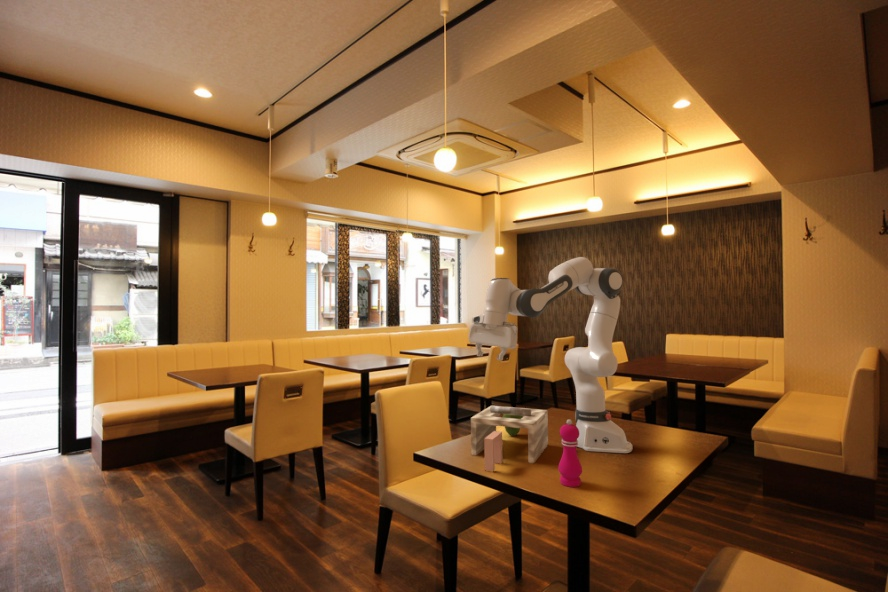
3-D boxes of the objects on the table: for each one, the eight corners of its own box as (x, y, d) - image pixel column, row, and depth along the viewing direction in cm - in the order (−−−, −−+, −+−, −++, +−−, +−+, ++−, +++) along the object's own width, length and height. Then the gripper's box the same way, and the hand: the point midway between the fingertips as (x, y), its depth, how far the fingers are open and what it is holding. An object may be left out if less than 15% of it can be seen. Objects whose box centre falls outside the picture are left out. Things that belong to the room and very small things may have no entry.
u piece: (502, 462, 163) (502, 431, 164) (493, 472, 154) (492, 439, 154) (494, 461, 165) (494, 430, 165) (484, 470, 155) (484, 438, 156)
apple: (501, 437, 195) (501, 410, 196) (503, 432, 204) (503, 406, 204) (522, 438, 194) (522, 411, 194) (523, 433, 202) (523, 407, 202)
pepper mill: (555, 479, 147) (554, 417, 147) (577, 478, 147) (576, 416, 148) (563, 488, 140) (562, 422, 140) (586, 487, 140) (584, 421, 141)
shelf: (548, 445, 184) (547, 404, 185) (533, 463, 162) (533, 417, 163) (491, 438, 194) (491, 399, 195) (471, 454, 173) (470, 411, 173)
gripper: (523, 324, 162) (517, 363, 161) (479, 319, 177) (474, 354, 176) (512, 322, 158) (507, 362, 157) (468, 317, 172) (463, 353, 171)
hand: (489, 358), depth 166 cm, fingers open, 8 cm apart
